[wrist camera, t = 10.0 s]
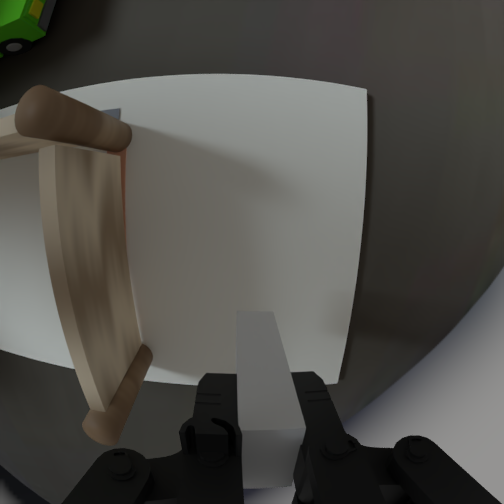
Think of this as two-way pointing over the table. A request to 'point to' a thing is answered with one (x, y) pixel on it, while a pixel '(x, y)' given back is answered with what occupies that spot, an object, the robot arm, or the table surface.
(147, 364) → the fence gate
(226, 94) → the card
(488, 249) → the table surface
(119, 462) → the robot arm
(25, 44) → the toy car
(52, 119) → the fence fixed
